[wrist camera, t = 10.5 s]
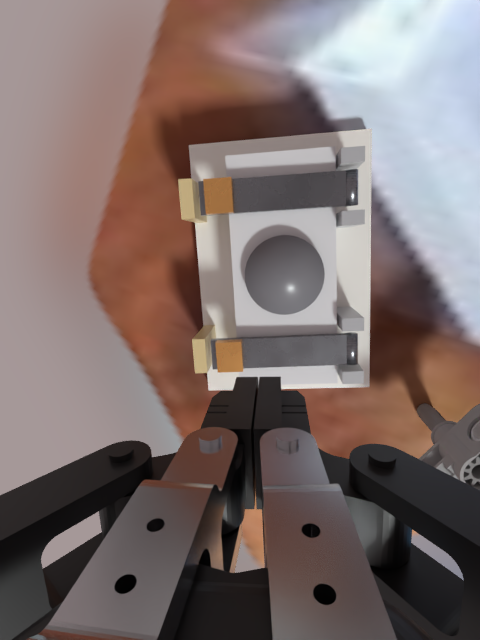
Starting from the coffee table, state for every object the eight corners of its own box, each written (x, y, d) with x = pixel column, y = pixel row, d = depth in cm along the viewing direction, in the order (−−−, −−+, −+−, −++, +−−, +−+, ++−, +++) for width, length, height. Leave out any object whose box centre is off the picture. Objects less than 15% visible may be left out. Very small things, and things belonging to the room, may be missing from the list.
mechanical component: (376, 438, 36) (413, 509, 27) (453, 361, 34) (525, 408, 24) (399, 456, 36) (444, 534, 27) (477, 381, 34) (558, 436, 24)
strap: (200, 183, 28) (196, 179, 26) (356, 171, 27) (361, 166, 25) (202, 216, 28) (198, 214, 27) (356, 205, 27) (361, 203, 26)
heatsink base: (191, 148, 32) (172, 126, 26) (368, 132, 31) (391, 104, 25) (210, 385, 37) (197, 414, 31) (366, 382, 35) (385, 412, 29)
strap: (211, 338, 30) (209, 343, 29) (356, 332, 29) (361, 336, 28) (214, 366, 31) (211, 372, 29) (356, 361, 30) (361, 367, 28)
